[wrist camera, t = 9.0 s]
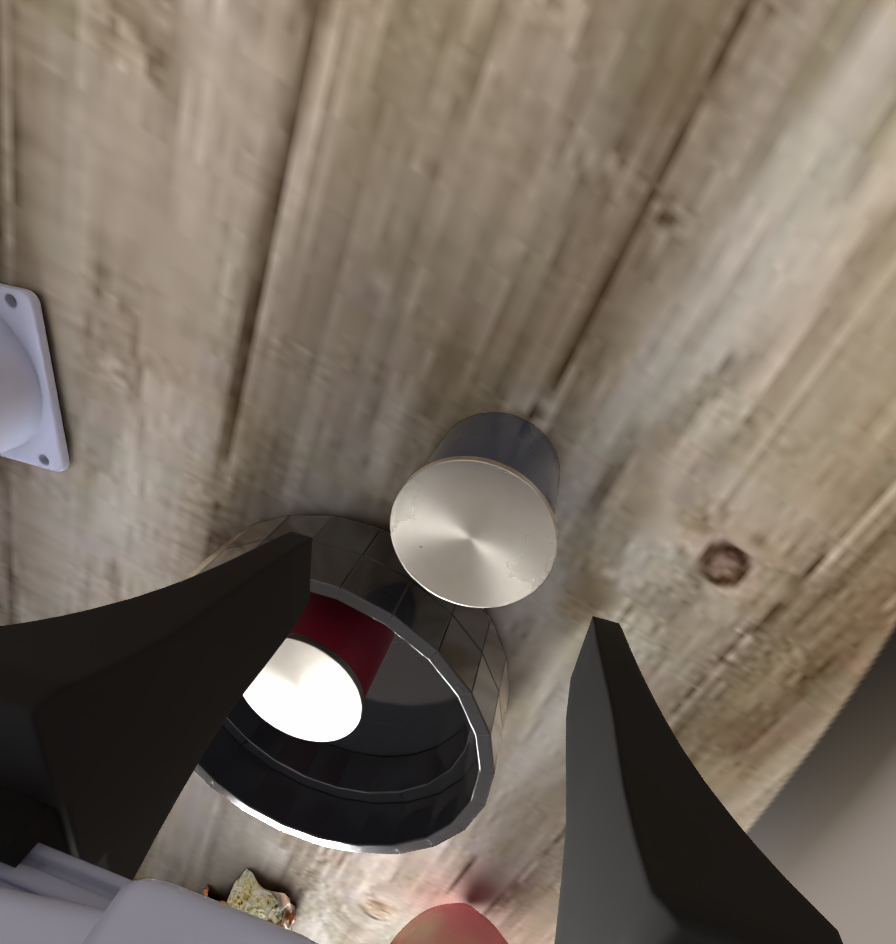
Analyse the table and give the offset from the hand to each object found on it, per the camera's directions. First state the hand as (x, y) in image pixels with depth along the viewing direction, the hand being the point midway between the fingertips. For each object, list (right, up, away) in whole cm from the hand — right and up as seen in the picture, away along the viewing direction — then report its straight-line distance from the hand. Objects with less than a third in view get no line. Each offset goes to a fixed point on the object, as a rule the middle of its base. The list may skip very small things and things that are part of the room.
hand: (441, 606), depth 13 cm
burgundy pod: (-4, -3, +10) cm, 12 cm away
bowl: (-4, -5, +12) cm, 14 cm away
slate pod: (+2, +3, +7) cm, 8 cm away
